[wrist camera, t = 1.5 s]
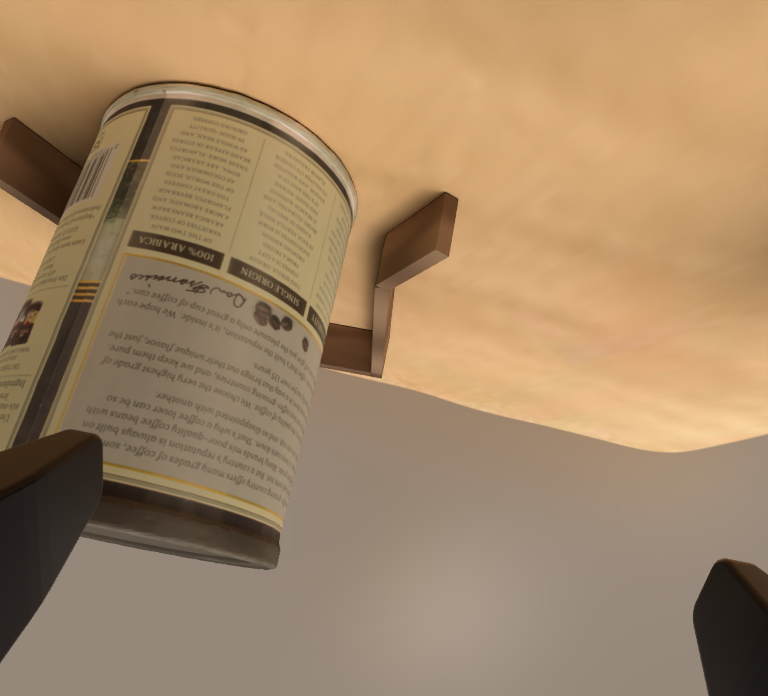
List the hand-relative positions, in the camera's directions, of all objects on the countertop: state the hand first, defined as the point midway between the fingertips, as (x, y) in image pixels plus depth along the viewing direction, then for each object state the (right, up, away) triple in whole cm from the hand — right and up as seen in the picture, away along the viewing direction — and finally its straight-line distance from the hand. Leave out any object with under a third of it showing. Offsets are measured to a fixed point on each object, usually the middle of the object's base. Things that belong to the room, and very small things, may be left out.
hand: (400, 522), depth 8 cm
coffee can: (-6, +9, +17) cm, 20 cm away
